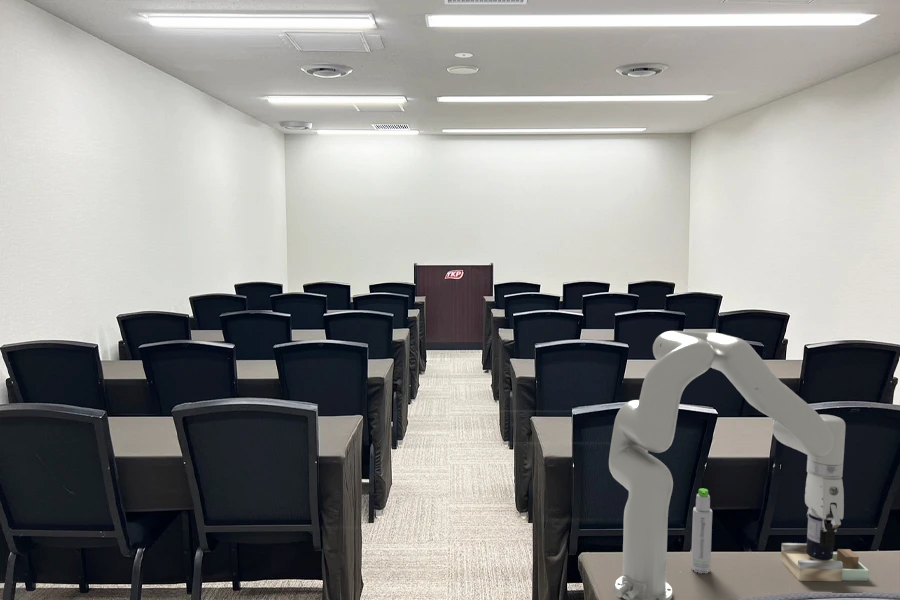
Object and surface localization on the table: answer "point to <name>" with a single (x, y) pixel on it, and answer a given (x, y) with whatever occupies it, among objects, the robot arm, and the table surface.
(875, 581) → the table surface
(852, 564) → the brown block
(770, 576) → the table surface
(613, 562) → the table surface
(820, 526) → the beverage can
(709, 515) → the bottle
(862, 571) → the tray
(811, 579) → the slot board
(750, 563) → the table surface
